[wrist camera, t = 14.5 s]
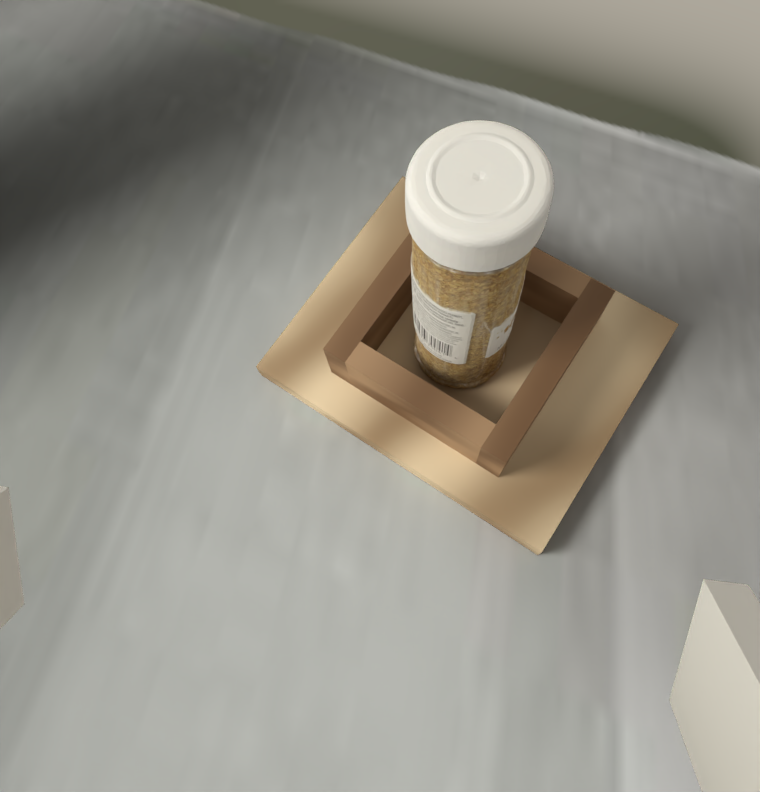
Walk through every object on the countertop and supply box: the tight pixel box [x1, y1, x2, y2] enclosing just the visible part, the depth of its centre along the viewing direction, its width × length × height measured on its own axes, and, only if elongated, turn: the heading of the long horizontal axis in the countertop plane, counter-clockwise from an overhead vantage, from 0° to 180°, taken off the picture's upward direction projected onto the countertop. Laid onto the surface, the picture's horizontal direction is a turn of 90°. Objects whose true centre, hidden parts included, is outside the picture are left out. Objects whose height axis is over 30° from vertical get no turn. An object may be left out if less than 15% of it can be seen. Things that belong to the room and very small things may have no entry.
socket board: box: [256, 177, 679, 555], centre depth 32 cm, size 16×13×4 cm
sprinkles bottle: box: [405, 120, 554, 388], centre depth 27 cm, size 5×5×14 cm
